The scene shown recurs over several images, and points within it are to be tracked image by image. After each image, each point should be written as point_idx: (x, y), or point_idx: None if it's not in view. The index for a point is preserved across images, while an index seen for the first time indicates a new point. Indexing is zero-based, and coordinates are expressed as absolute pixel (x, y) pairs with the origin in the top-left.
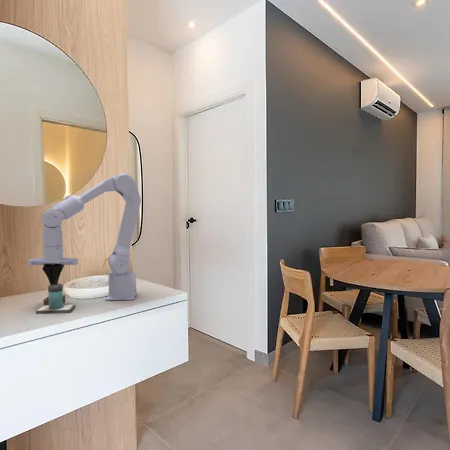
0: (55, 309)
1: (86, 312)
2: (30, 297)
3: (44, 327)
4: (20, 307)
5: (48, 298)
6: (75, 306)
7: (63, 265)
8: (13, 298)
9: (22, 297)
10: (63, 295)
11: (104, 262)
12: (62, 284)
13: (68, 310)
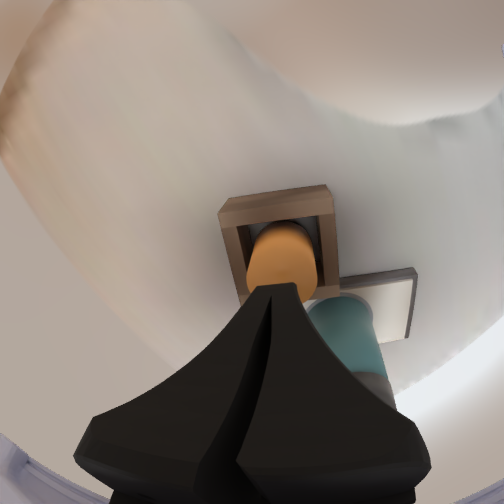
0: None
1: (460, 318)
2: (69, 128)
3: None
4: (135, 277)
5: (246, 265)
6: (414, 269)
7: (417, 477)
8: (27, 164)
9: (43, 140)
10: (323, 206)
11: None
12: (395, 408)
13: (401, 338)
